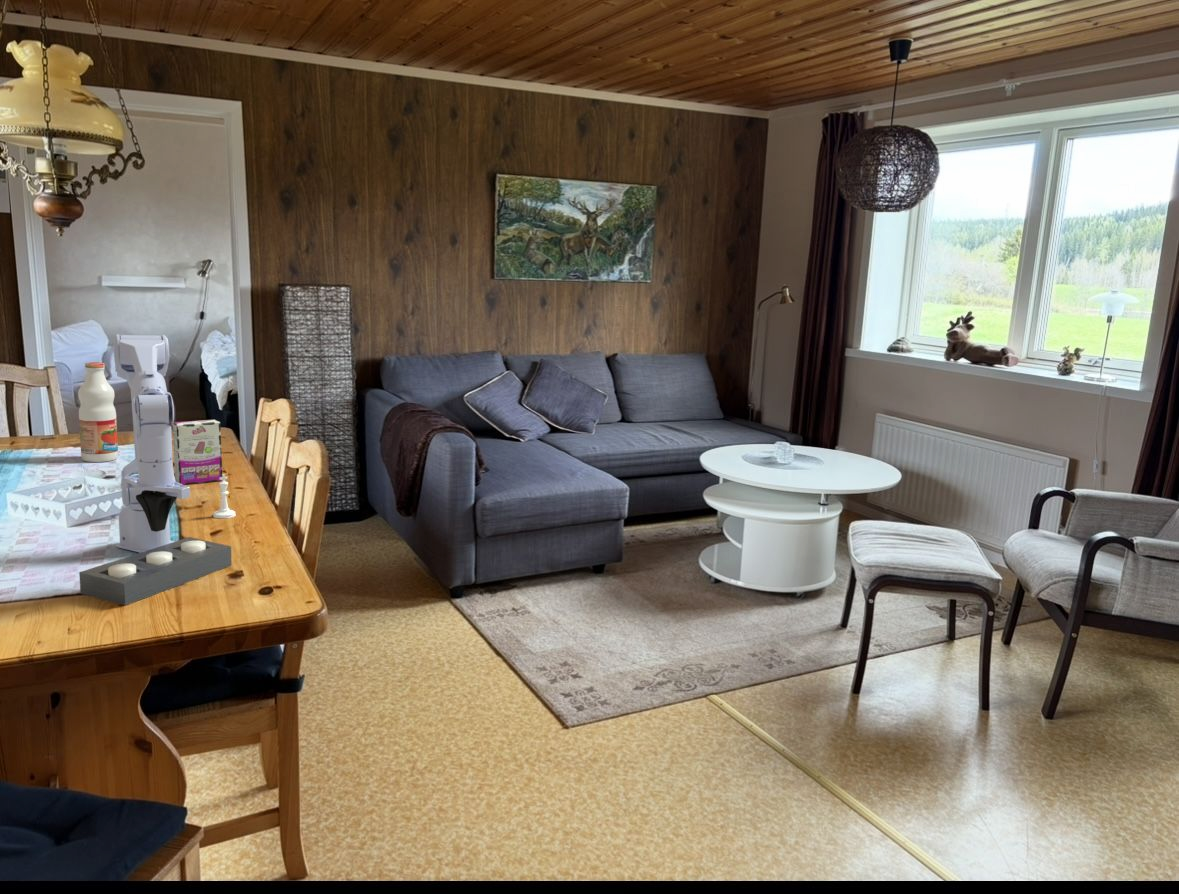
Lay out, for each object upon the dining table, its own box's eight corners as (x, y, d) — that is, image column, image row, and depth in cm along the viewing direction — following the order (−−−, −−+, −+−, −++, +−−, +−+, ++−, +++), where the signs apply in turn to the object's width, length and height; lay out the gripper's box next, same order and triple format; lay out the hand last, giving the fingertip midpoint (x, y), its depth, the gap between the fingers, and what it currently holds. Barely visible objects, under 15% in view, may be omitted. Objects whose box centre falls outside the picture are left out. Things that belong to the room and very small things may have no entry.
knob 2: (176, 566, 170) (175, 545, 169) (194, 560, 174) (193, 539, 173) (193, 570, 168) (192, 548, 167) (211, 564, 172) (210, 542, 171)
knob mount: (80, 593, 154) (79, 572, 154) (190, 555, 177) (189, 537, 176) (125, 605, 150) (124, 583, 150) (231, 565, 173) (231, 546, 172)
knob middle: (141, 579, 162) (140, 556, 161) (161, 572, 166) (160, 549, 165) (159, 583, 161) (158, 560, 160) (178, 576, 165) (177, 554, 164)
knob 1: (103, 592, 155) (102, 568, 154) (125, 585, 159) (123, 561, 158) (121, 597, 153) (120, 573, 152) (142, 589, 157) (141, 566, 156)
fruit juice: (87, 455, 254) (81, 360, 249) (122, 455, 257) (117, 361, 251) (76, 462, 246) (70, 364, 240) (113, 462, 248) (108, 365, 242)
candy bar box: (217, 477, 239) (215, 418, 236) (223, 481, 235) (221, 422, 232) (174, 481, 232) (171, 421, 229) (179, 485, 228) (176, 424, 225)
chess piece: (209, 514, 205) (208, 473, 203) (230, 511, 208) (229, 471, 206) (218, 519, 201) (217, 478, 199) (239, 516, 205) (238, 475, 203)
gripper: (107, 457, 158) (111, 528, 161) (166, 468, 153) (169, 542, 155) (140, 451, 164) (143, 519, 167) (198, 461, 159) (200, 532, 162)
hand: (158, 530), depth 162 cm, fingers closed
